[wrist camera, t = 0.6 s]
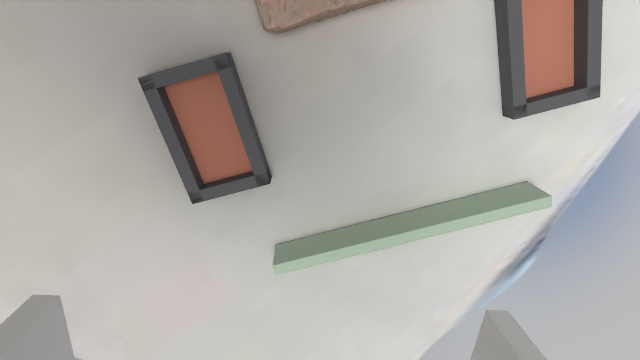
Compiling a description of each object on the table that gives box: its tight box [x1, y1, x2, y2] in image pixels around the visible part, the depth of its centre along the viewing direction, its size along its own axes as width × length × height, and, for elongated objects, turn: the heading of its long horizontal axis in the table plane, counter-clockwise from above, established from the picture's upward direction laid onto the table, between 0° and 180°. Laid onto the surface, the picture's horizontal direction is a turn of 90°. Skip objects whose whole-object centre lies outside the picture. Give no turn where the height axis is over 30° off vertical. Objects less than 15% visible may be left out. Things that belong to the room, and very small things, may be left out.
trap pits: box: [138, 0, 603, 204], centre depth 32 cm, size 12×40×2 cm, turn 105°
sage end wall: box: [273, 181, 552, 275], centre depth 36 cm, size 1×28×4 cm, turn 105°
